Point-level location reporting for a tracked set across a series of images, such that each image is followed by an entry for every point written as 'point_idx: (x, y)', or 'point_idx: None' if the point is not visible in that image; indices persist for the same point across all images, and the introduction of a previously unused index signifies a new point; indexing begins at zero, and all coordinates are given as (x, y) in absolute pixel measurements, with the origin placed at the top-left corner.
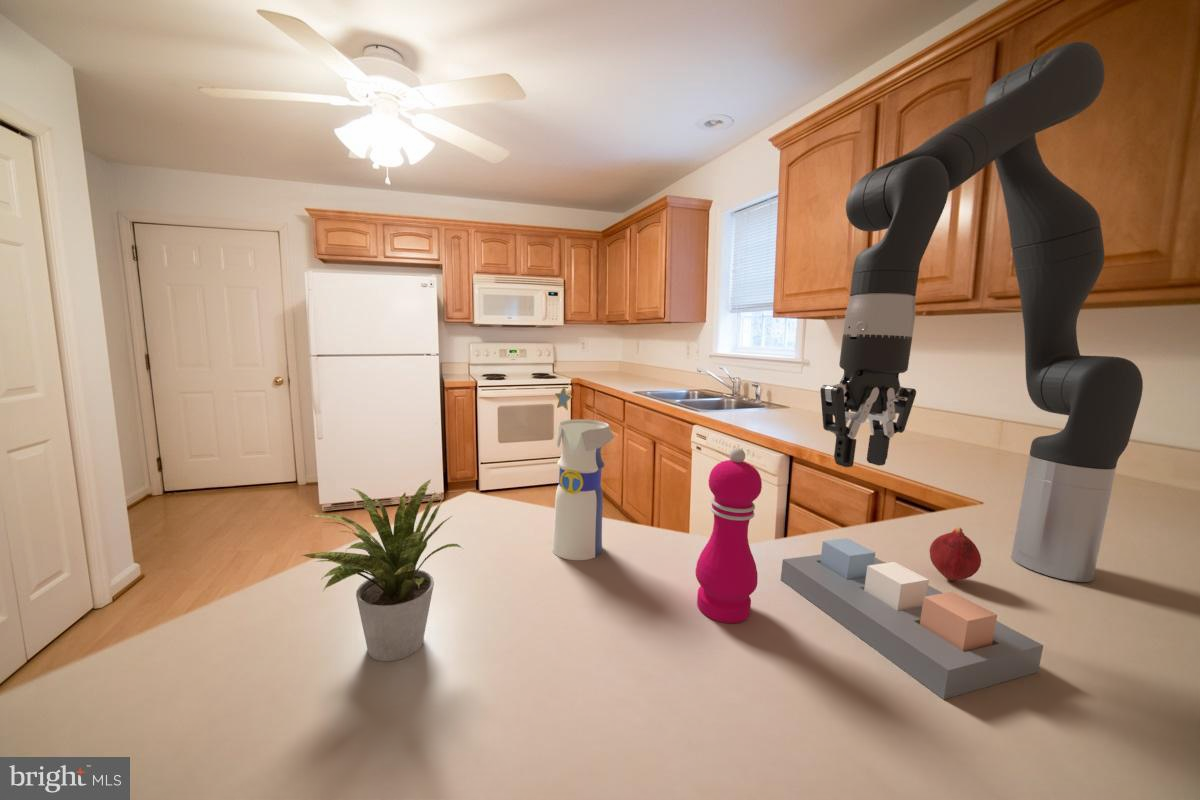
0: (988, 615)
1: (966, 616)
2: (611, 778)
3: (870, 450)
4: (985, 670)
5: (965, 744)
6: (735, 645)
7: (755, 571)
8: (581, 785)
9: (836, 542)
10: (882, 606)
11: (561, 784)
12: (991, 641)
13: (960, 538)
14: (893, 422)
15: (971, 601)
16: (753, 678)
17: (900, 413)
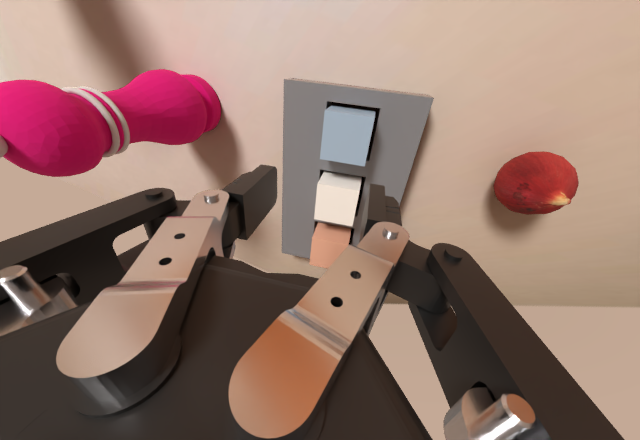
0: None
1: (315, 262)
2: (105, 195)
3: (367, 202)
4: None
5: (269, 255)
6: (188, 152)
7: (185, 140)
8: (93, 193)
9: (341, 122)
10: (309, 199)
11: (85, 189)
12: None
13: (536, 204)
14: (434, 298)
15: None
16: (187, 181)
17: (434, 355)
